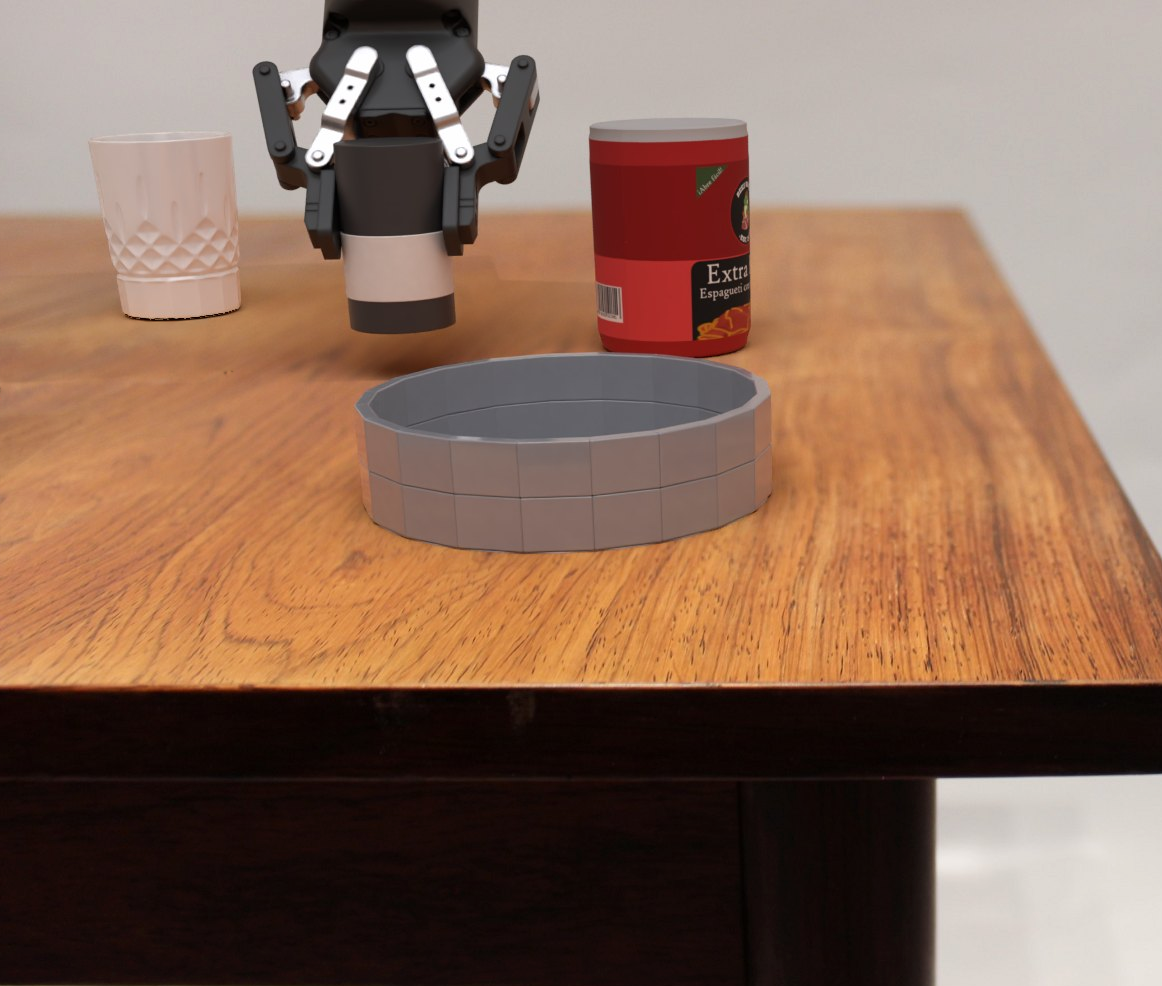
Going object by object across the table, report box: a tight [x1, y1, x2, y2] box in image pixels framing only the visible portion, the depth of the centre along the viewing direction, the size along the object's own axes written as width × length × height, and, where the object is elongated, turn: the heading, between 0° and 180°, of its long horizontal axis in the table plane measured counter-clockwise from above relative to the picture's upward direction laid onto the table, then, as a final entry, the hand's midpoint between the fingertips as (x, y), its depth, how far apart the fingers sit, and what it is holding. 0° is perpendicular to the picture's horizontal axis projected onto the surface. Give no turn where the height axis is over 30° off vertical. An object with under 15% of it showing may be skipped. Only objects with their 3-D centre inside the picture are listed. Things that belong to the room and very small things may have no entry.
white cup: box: [87, 130, 242, 318], centre depth 98 cm, size 8×8×10 cm
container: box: [333, 137, 457, 335], centre depth 79 cm, size 5×5×8 cm
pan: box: [353, 351, 773, 555], centre depth 58 cm, size 14×14×4 cm
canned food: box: [588, 117, 752, 358], centre depth 84 cm, size 8×8×11 cm
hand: (390, 246), depth 77 cm, fingers closed on container, 5 cm apart
